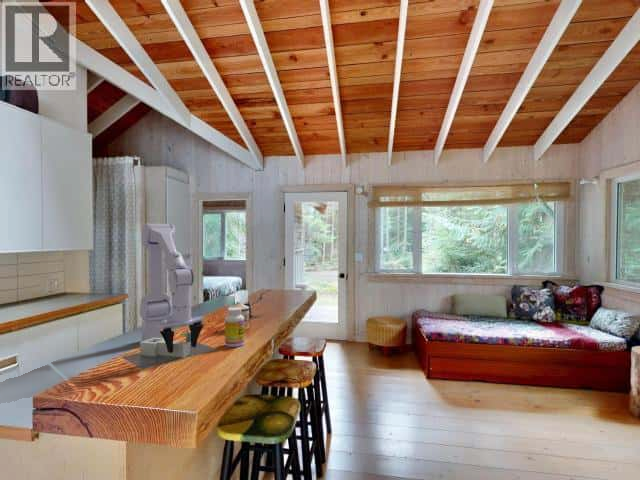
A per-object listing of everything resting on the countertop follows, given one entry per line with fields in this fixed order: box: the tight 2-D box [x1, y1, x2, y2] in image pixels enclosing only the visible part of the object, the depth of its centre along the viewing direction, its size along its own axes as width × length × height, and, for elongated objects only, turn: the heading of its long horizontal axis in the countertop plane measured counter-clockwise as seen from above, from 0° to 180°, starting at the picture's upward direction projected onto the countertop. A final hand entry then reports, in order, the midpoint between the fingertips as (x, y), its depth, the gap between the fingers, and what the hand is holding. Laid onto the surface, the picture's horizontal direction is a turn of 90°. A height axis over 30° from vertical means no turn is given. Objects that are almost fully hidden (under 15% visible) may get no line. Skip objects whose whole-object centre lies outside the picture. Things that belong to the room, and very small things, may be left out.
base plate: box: [121, 341, 218, 369], centre depth 115 cm, size 17×24×1 cm
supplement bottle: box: [224, 307, 245, 348], centre depth 126 cm, size 7×7×13 cm
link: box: [139, 338, 190, 359], centre depth 114 cm, size 16×6×4 cm, turn 70°
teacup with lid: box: [227, 300, 250, 331], centre depth 151 cm, size 12×9×12 cm
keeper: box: [180, 329, 191, 346], centre depth 120 cm, size 2×6×6 cm, turn 2°
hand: (182, 349), depth 112 cm, fingers open, 7 cm apart
